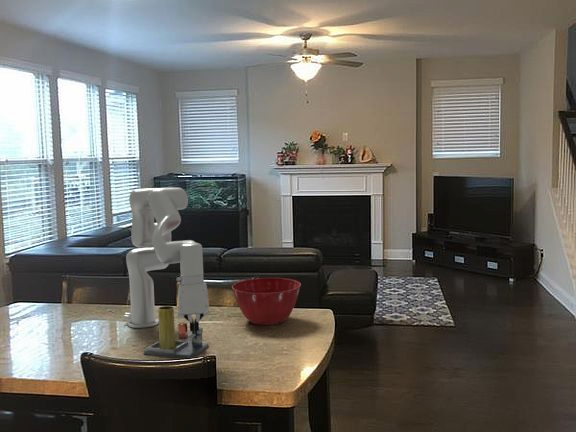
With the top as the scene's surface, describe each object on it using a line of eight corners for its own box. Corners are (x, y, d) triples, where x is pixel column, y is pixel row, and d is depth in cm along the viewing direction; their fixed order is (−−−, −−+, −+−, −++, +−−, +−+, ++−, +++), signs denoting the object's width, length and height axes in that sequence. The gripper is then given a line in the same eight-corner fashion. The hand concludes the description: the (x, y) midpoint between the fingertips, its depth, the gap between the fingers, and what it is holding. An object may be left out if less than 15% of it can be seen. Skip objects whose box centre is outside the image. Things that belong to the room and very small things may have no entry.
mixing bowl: (296, 331, 234) (295, 292, 233) (225, 329, 239) (223, 291, 237) (305, 313, 262) (305, 278, 260) (242, 311, 266) (241, 277, 265)
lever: (193, 331, 218) (192, 313, 217) (204, 332, 216) (204, 314, 216) (175, 343, 203) (174, 324, 203) (187, 344, 202) (186, 325, 202)
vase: (160, 344, 216) (158, 306, 215) (177, 344, 217) (175, 305, 216) (157, 350, 210) (156, 310, 209) (175, 349, 211) (173, 309, 210)
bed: (143, 354, 210) (143, 339, 210) (164, 342, 223) (164, 328, 223) (189, 358, 204) (189, 343, 204) (208, 346, 217) (208, 332, 217)
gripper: (169, 283, 198) (172, 338, 199) (215, 280, 200) (217, 334, 202) (169, 279, 205) (172, 332, 206) (213, 276, 208) (215, 328, 209)
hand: (194, 333), depth 204 cm, fingers closed
